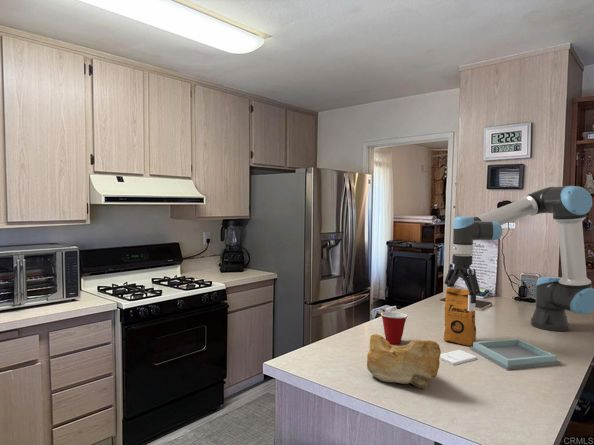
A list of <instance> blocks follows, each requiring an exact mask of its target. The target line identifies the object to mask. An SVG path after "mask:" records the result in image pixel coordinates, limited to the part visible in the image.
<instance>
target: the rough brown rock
mask: <svg viewBox="0 0 594 445" xmlns="http://www.w3.org/2000/svg"><path fill="white" fill-rule="evenodd" d="M369 338H370V339H369V351H368V353H367V355H366V356H367V357H366V358H367V360H366V361H367V362H366V368H367V370H368V372H370V373H371V375H373V377H374V378H376V379H378V380H379V381H382V382H386V383H396V384H397V383H398V384H401V385H402V384H403V385H404V384H412V385H413V386H414V387H416V388H418V389H421V388H422V389H425V388H427V386H428V384H429V382H430V380H431V379H432V378H436V377H437V376H438V372H439V368H440V363H441V362H440V359H439V358H440V354H442V353H441V347H440V344H439V343H437V342H436V341H433V340H429V339H428V340H421V339H415V340H410V342H408V343H407V344H405V345H404V344H403V345H391V344H390V343H389V342H388V341H386V338H384V337H383V336H382V335H381V334H376V333H375V334H372V335H370V337H369ZM422 389H421V390H422Z"/></svg>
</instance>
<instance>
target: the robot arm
mask: <svg viewBox="0 0 594 445" xmlns="http://www.w3.org/2000/svg"><path fill="white" fill-rule="evenodd" d="M592 198H593V197H592V195H591V194H590V192H589V191H588V190H587V189H586V188H585V187H581V186H575V185H567V186H566V185H564V186H549V187H544V188H542V189H538V190H536V191H534V192H531V193H528V194H526V195H524V196H523V197H521V199H519V200H516V201H514V202H510V203H508V204H505V205H503V206H500V207H498V208H495V209H492V210H490V211H487V212H485V213H482V214H479V215H478V214H477V215H476V216H473V217H472V216H456V217H454V219H453V227H452V229H453V230H452V235H453V236H452V260H451V261H452V263H449V267H448V271H447V274H446V277H445V278H444V279H445V280H444V282H443V283H444V285H446V288H455V289H456V286H455V284H457V282H458V280H459V278H460V279H462V281H464V283H465V286H466V288H467V290H469V294H468V311H475V312H476V310H475V303H476V300H477V295H481V289H480V286H479V283H478V278H477V274H476V273H477V270H476V269H475V268H471V267H470V266H472V265H473V253H474V241H497V240H499V239H500V238H501V237H502V235H503V225H505V224H508V223H510V222H513V221H516V220H518V219H521V218H525V217H527V216H531V217H532V216H536V215H540V214H552V220H554V221H555V222H556V223H557V228H558V229H557V230H558V241H559V251H560V252H559V253H560V263H561V264H560V266H561V277H560V276H542V277H538V278H537V279H536V285H535V288H536V289H535V291H536V292H535V293H536V294H535V309H534V312H533V314H532V317H531V318H530V325H531V326H532V327H534V328H538V329H541V330H545V331H552V332H567V331H569V330H570V323H569V321H568V316H567V313H566V311H569V312H572V313H573V314H578V315H585V316H586V315H590V314H591V313H593V312H594V288H593V284H592V280H591V279H589V278H588V277H587V276H588V275H587V265H586V254H585V253H586V251H585V243H584V242H585V240H584V228H583V221H584V220H585V219H586V218H587V214H588V213H589V212H590V210H591V208H592V207H593V199H592ZM472 291H473V292H472Z"/></svg>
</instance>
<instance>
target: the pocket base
mask: <svg viewBox="0 0 594 445" xmlns="http://www.w3.org/2000/svg"><path fill="white" fill-rule="evenodd" d="M469 350H471V351H472V352H474V353H475V354H478V355H479V356H481V357H483V358H485V359H487V360H488V361H490V362H492V363H494V364H495V365H497V366H499V367H500V368H503V369H505V371H513V370H520V369H521V370H522V369H533V368H542V367H553V366H554V367H555V366H561V361H559V360H557V359H558V355H557V354H554V353H551V352H549V351H547V350H545V349H543V348H540V347H538V346H535V345H533V344H531V343H529V342H528V341H527V342H526V341H525V340H522V339H520V338H510V339H497V340H494V339H493V340H484V341H483V340H482V341H476V342H473V345H472V346H469Z"/></svg>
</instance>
